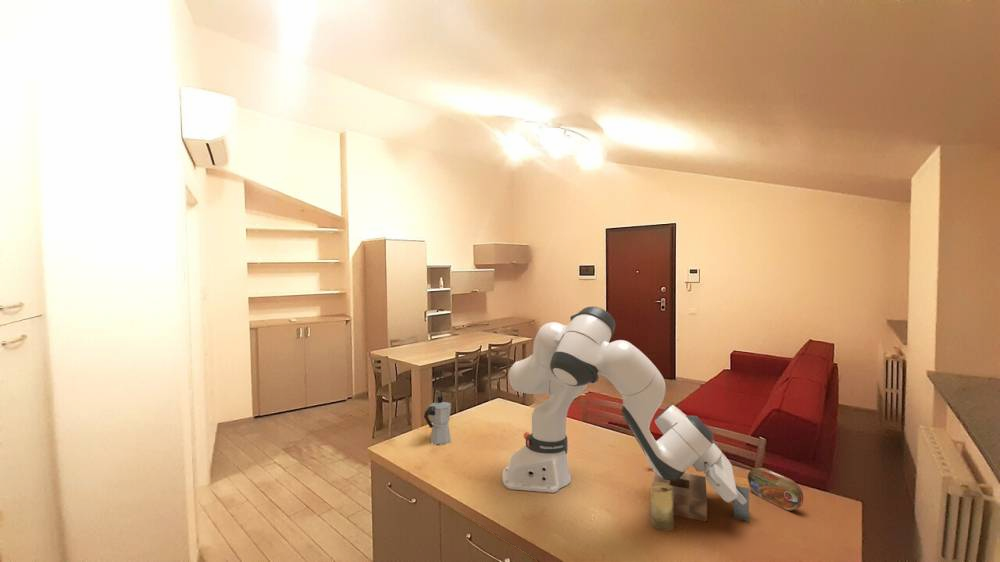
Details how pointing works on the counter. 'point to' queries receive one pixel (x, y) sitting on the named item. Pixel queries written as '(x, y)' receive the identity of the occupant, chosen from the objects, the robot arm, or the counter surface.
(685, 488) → the bore block
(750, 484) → the tin
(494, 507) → the counter surface
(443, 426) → the coffee maker
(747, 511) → the square bit
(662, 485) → the yellow candle
